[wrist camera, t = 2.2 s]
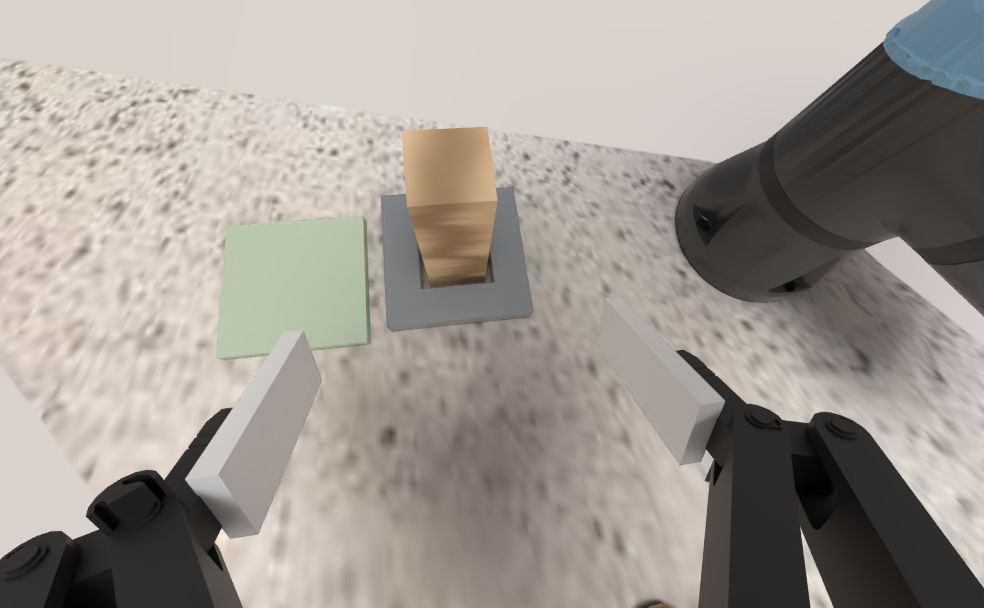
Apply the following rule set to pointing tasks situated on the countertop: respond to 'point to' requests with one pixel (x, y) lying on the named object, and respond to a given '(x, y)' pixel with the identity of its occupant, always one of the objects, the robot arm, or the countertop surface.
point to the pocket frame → (453, 303)
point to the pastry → (659, 606)
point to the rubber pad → (294, 285)
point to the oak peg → (451, 201)
